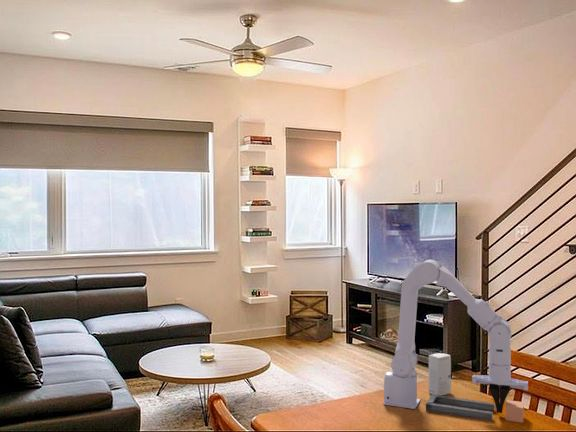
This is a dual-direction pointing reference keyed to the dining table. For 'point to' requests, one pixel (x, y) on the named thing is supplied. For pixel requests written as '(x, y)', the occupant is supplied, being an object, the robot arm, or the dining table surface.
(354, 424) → the dining table surface
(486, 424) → the dining table surface
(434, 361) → the skincare box
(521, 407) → the block
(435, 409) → the grey tray
